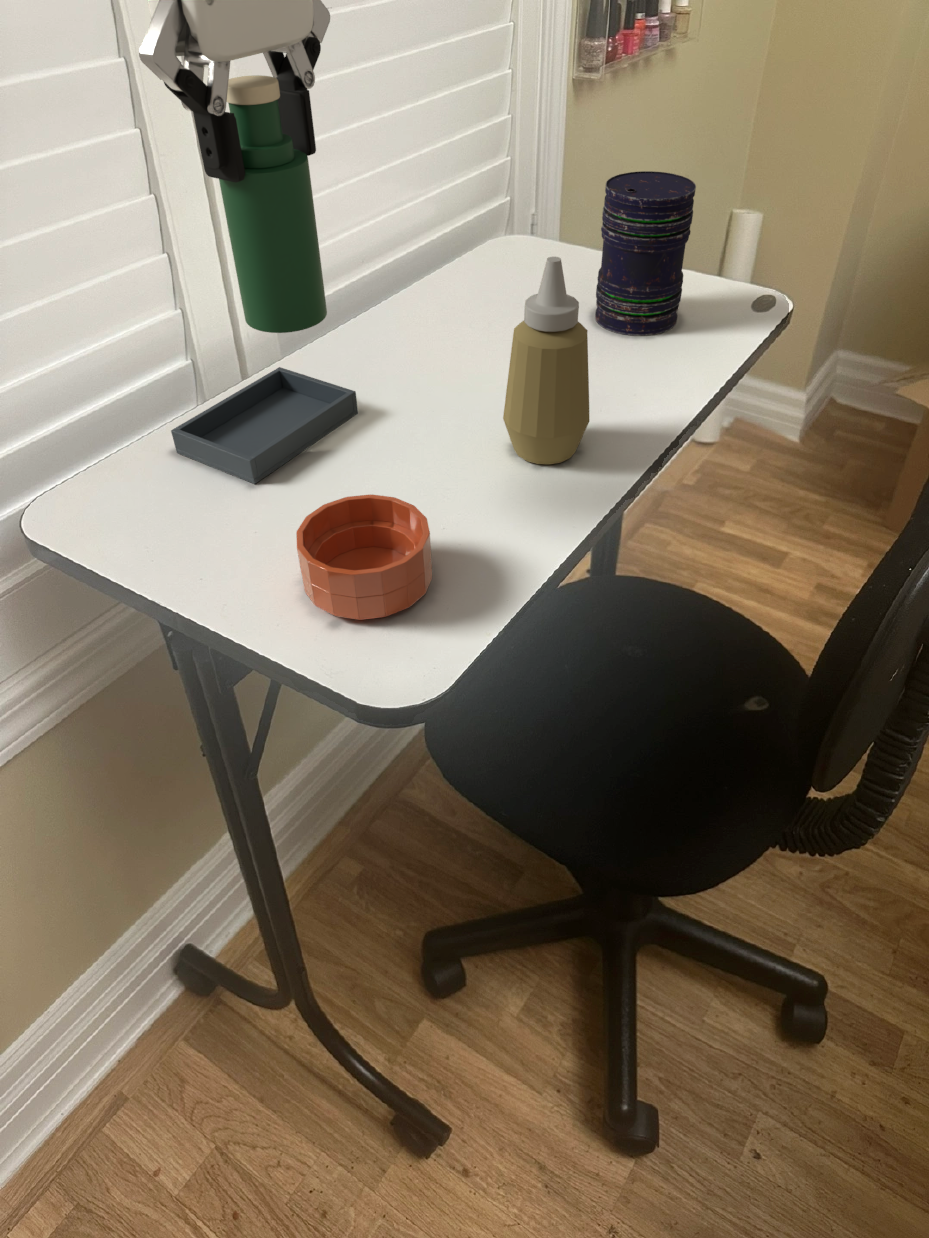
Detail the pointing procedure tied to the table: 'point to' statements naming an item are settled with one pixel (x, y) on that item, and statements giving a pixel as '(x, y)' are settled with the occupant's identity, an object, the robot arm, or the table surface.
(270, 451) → the tray
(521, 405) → the squeeze bottle
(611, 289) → the oil drum
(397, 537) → the bowl
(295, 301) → the bottle
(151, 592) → the table surface
